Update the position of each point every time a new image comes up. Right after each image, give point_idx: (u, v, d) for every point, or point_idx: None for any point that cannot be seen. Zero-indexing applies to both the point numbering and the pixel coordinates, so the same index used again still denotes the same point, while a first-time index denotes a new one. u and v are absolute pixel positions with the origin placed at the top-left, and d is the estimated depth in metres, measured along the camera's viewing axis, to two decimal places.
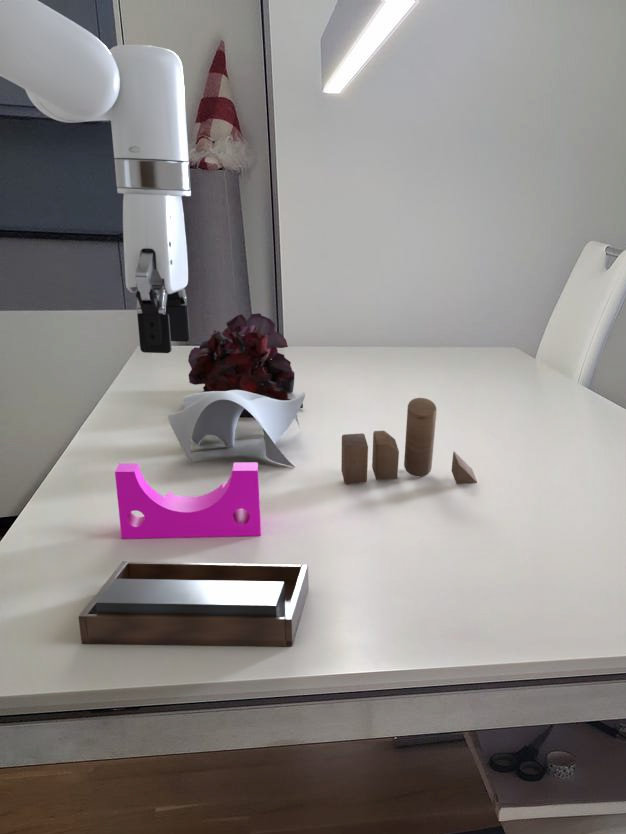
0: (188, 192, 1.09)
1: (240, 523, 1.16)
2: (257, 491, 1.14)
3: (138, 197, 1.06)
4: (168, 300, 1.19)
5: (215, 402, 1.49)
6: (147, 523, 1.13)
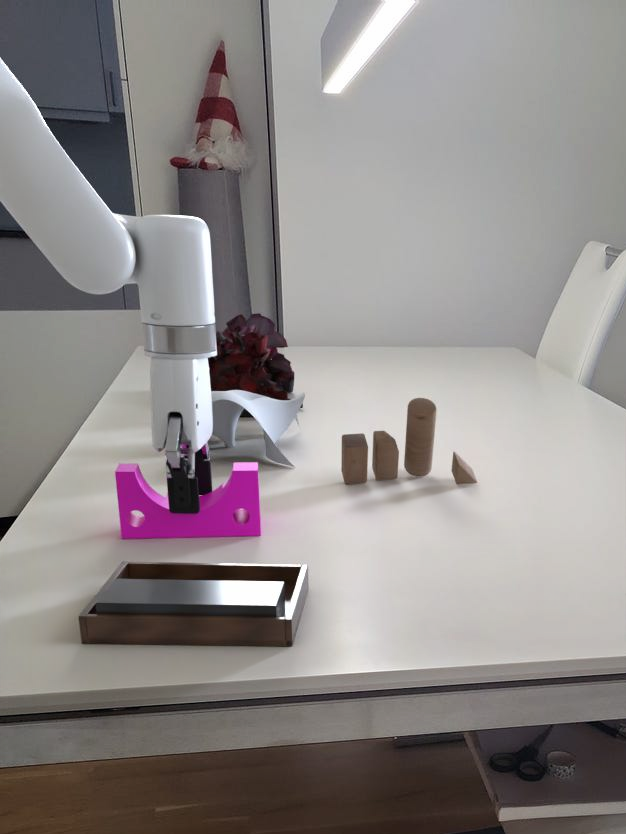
0: (214, 352, 1.10)
1: (240, 523, 1.16)
2: (257, 491, 1.14)
3: (165, 363, 1.06)
4: None
5: (215, 402, 1.49)
6: (147, 523, 1.13)
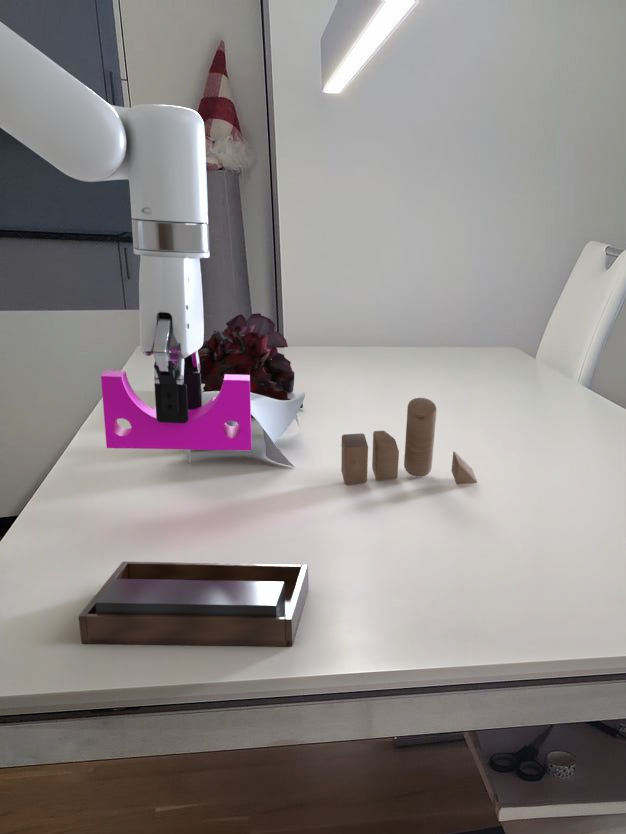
0: (207, 254, 1.06)
1: (230, 436, 1.12)
2: (248, 402, 1.10)
3: (155, 260, 1.02)
4: None
5: None
6: (134, 432, 1.09)
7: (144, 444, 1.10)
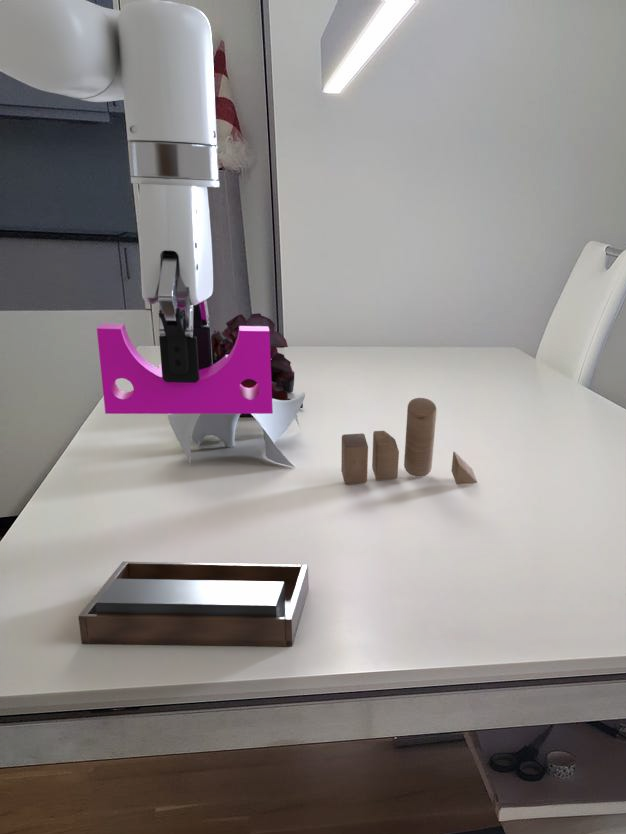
0: (217, 182, 0.91)
1: (248, 398, 0.97)
2: (268, 357, 0.95)
3: (157, 188, 0.87)
4: None
5: None
6: (136, 394, 0.94)
7: (149, 408, 0.95)
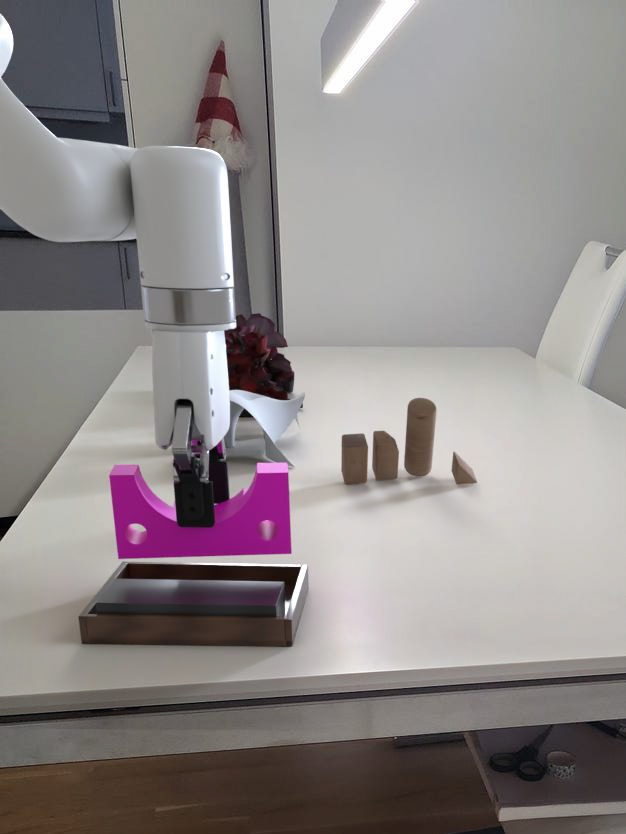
0: (233, 324, 0.87)
1: (266, 538, 0.93)
2: (287, 498, 0.91)
3: (171, 336, 0.83)
4: None
5: None
6: (150, 539, 0.91)
7: (163, 552, 0.91)
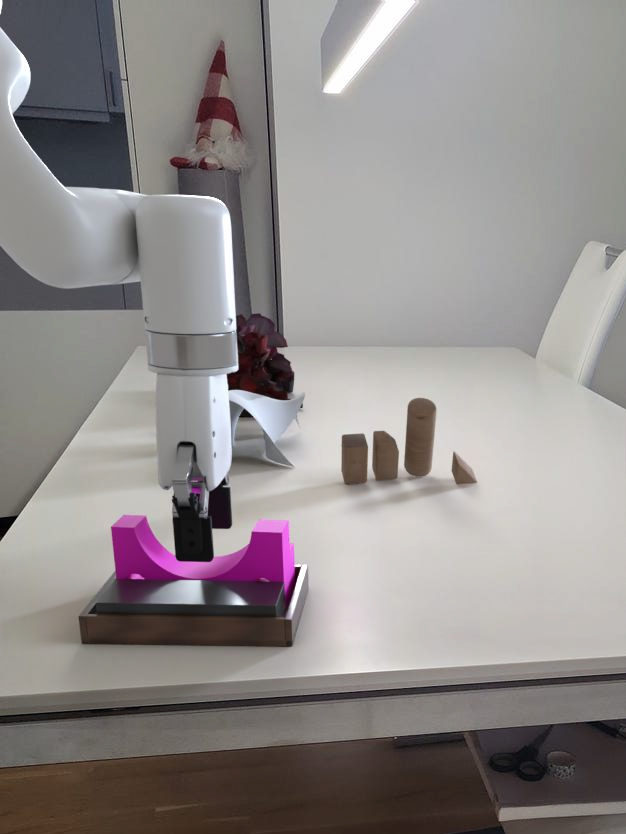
0: (236, 367, 0.88)
1: None
2: (281, 557, 0.92)
3: (175, 381, 0.85)
4: None
5: None
6: None
7: None
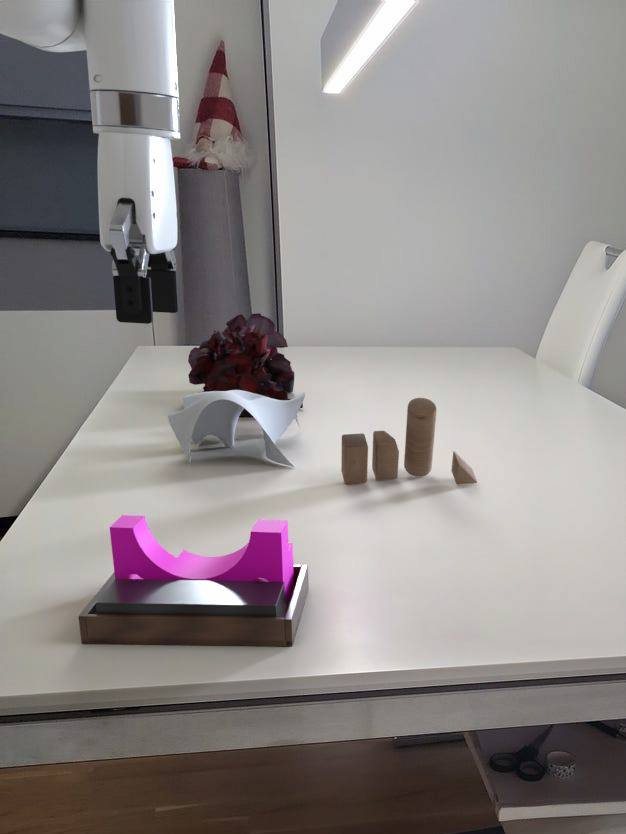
0: (176, 134, 0.93)
1: None
2: (280, 557, 0.92)
3: (115, 136, 0.89)
4: (154, 264, 1.02)
5: (215, 402, 1.49)
6: None
7: None
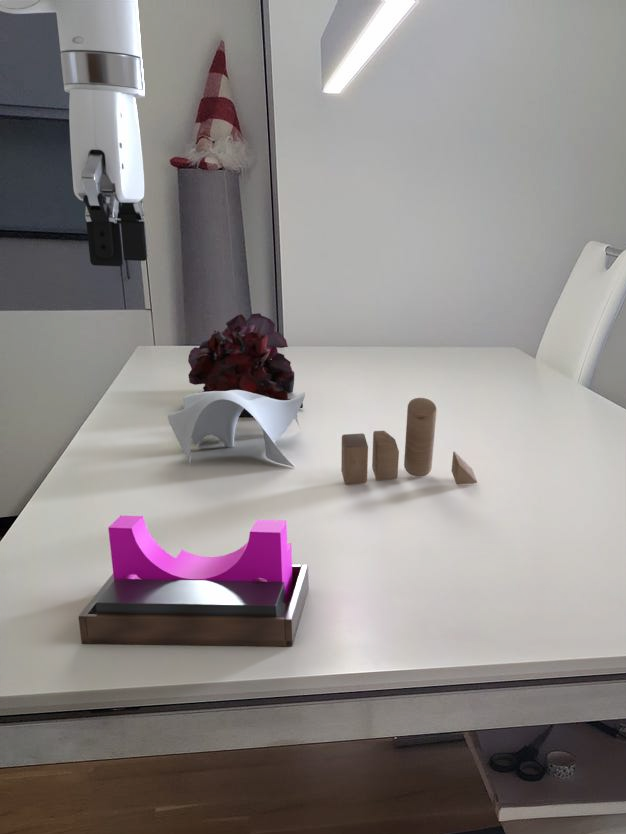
0: (141, 91, 1.02)
1: None
2: (279, 557, 0.92)
3: (85, 93, 0.98)
4: (123, 215, 1.11)
5: (215, 402, 1.49)
6: None
7: None
